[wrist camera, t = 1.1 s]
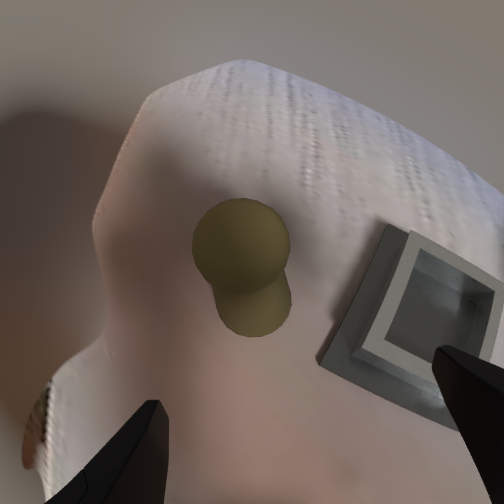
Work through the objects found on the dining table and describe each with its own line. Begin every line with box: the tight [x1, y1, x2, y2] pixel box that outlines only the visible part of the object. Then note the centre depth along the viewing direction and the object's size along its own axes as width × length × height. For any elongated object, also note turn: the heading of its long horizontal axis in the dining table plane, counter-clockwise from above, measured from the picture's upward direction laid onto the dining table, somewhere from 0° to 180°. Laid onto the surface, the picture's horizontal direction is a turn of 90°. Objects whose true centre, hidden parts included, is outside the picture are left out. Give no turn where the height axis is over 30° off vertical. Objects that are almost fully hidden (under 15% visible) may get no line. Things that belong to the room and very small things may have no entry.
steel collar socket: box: [319, 224, 504, 432], centre depth 21 cm, size 14×14×4 cm
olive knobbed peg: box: [192, 198, 292, 337], centre depth 20 cm, size 6×6×11 cm
